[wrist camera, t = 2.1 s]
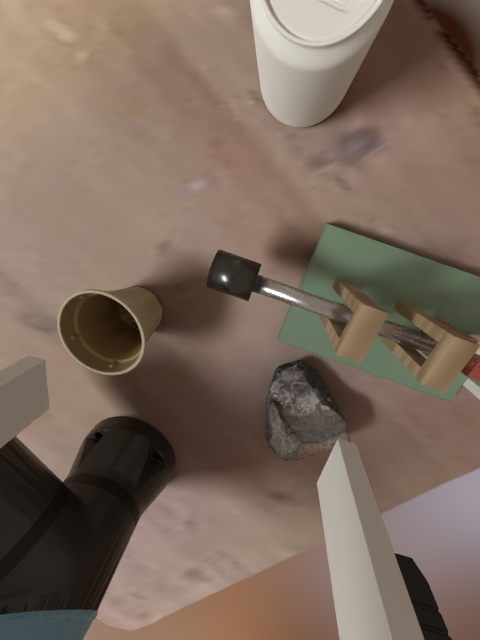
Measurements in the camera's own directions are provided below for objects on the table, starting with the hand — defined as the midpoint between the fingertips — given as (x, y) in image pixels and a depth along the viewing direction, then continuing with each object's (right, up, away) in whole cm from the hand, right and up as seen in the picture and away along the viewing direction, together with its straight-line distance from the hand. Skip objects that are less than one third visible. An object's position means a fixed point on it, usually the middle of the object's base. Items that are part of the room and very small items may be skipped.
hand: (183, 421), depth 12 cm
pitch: (+20, +5, +19) cm, 28 cm away
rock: (+10, -8, +26) cm, 29 cm away
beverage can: (+8, +27, +13) cm, 31 cm away
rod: (+12, +7, +17) cm, 22 cm away
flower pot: (-11, +6, +23) cm, 26 cm away
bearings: (+16, +6, +18) cm, 25 cm away
